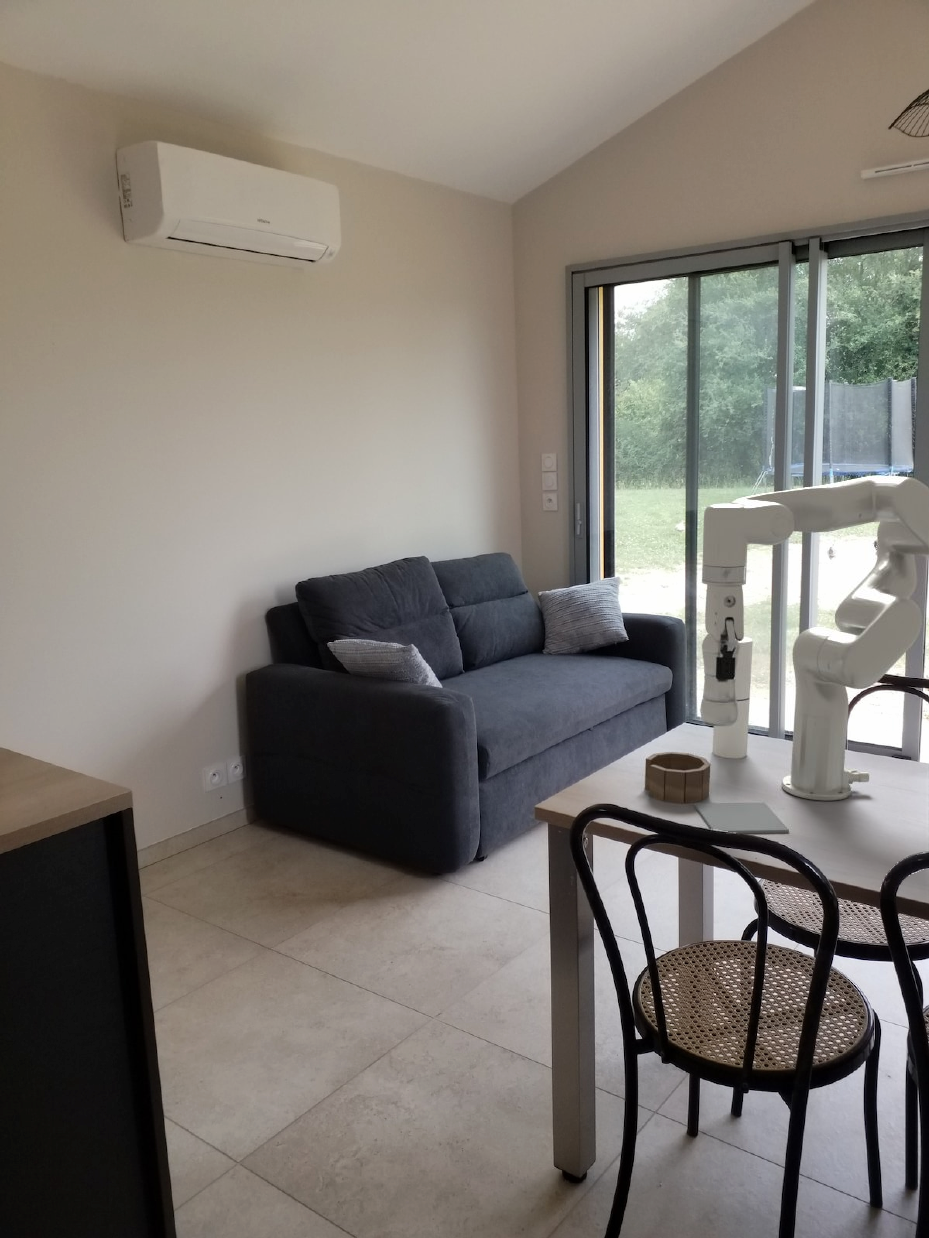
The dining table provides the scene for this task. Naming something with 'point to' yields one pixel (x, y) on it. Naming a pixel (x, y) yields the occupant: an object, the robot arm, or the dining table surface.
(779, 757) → the dining table surface
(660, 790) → the ring holder
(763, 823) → the rubber mat
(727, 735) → the cylindrical container
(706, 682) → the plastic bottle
